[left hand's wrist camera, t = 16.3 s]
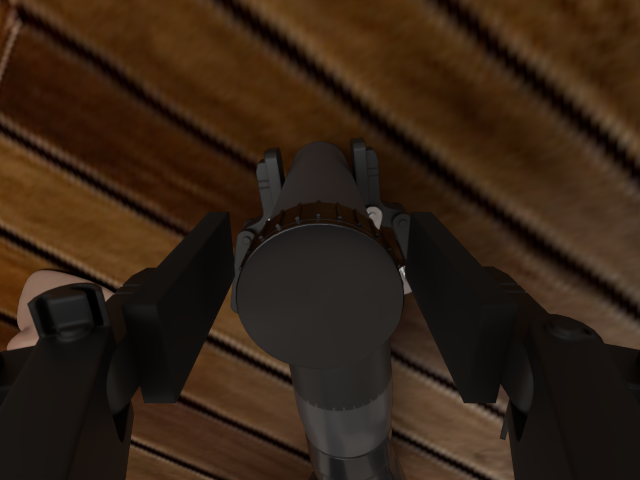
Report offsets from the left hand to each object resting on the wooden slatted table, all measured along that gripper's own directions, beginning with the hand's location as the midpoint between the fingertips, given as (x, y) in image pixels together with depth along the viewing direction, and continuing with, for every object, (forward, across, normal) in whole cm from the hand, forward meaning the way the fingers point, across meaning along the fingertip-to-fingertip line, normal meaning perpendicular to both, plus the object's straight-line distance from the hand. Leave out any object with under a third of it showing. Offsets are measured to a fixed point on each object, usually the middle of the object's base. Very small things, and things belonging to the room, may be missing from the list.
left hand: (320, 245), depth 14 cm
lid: (-4, 0, 0) cm, 4 cm away
